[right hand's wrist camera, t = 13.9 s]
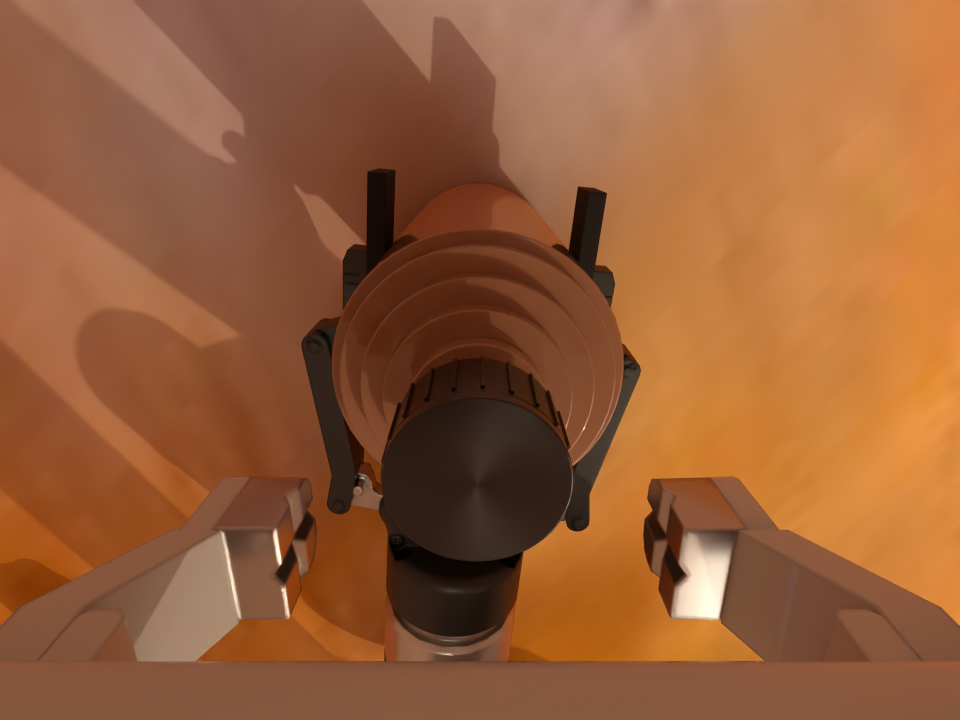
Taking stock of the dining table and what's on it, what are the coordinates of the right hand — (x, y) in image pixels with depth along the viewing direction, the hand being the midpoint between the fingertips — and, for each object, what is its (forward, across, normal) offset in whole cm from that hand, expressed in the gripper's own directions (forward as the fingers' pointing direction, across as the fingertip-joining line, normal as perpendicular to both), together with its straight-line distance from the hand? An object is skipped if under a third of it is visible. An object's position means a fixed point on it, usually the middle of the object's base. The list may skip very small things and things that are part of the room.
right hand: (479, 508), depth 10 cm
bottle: (+23, 0, 0) cm, 23 cm away
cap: (+1, 0, 0) cm, 1 cm away
